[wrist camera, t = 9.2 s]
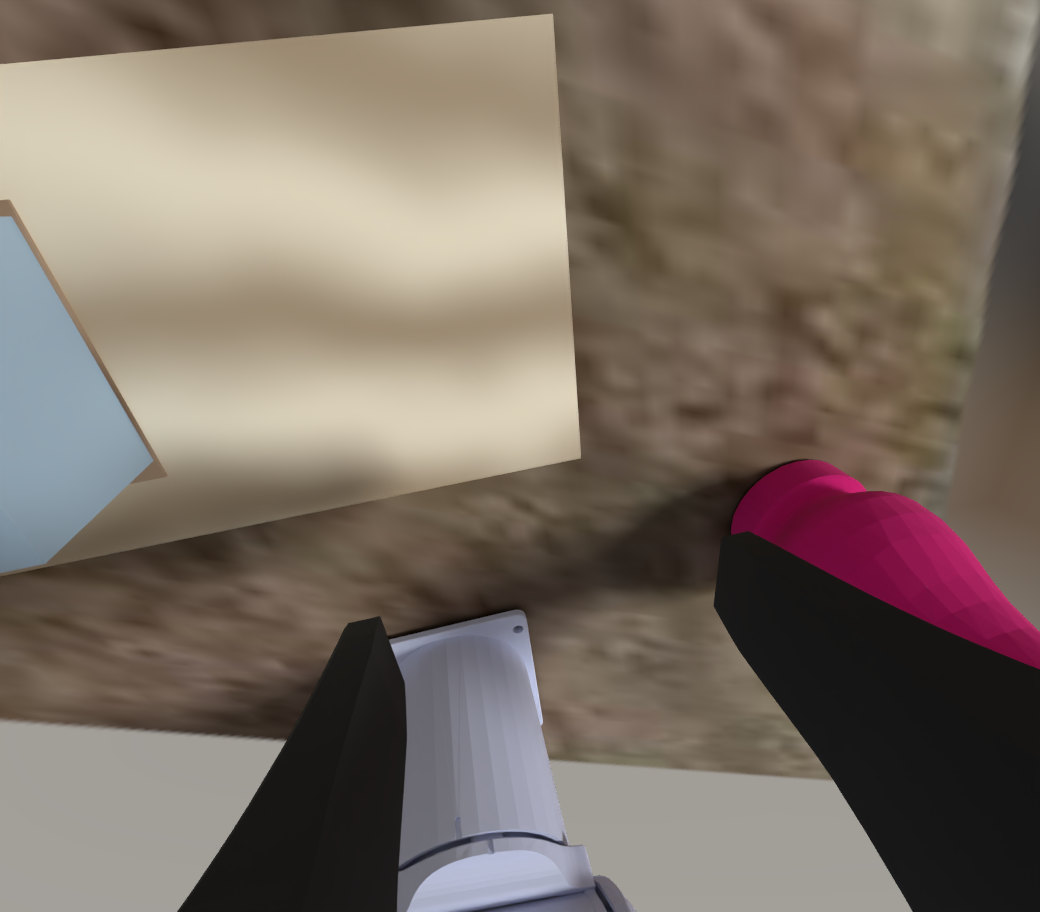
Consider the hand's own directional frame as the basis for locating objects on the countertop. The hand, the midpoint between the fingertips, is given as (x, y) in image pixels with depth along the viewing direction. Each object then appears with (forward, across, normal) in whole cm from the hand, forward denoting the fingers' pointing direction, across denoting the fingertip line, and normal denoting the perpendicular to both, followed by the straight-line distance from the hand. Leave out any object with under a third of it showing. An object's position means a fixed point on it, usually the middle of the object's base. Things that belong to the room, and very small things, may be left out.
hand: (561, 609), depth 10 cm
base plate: (+10, +8, -5) cm, 14 cm away
